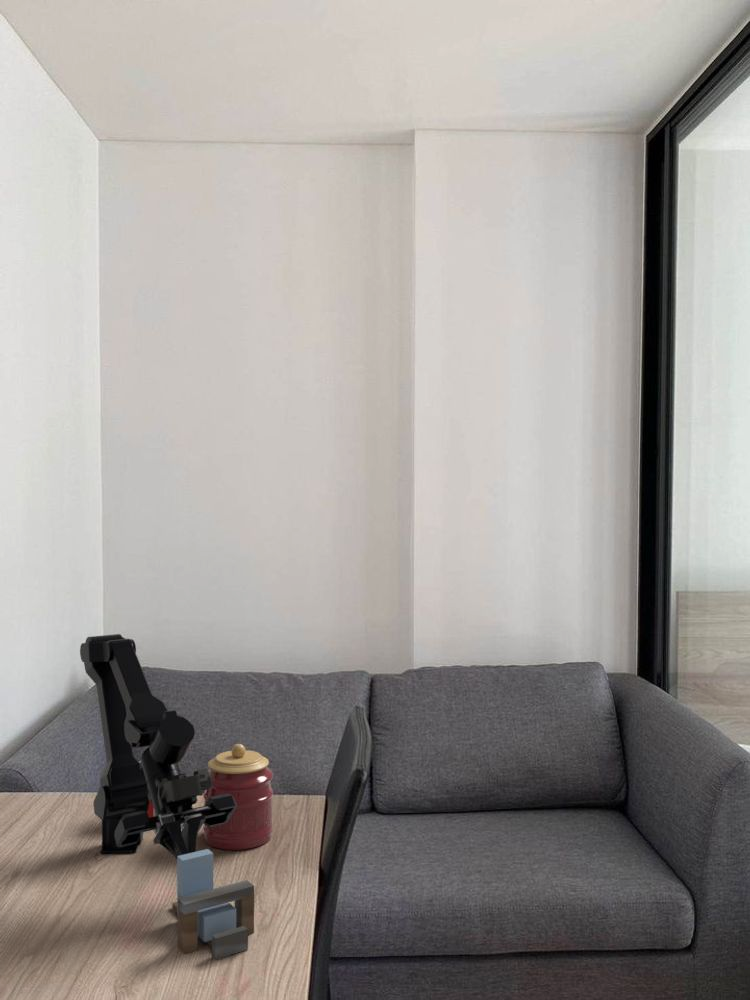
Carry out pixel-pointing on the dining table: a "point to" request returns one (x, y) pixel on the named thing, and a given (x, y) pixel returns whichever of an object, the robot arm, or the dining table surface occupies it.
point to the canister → (241, 799)
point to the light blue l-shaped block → (199, 878)
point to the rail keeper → (191, 904)
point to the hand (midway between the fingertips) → (191, 870)
